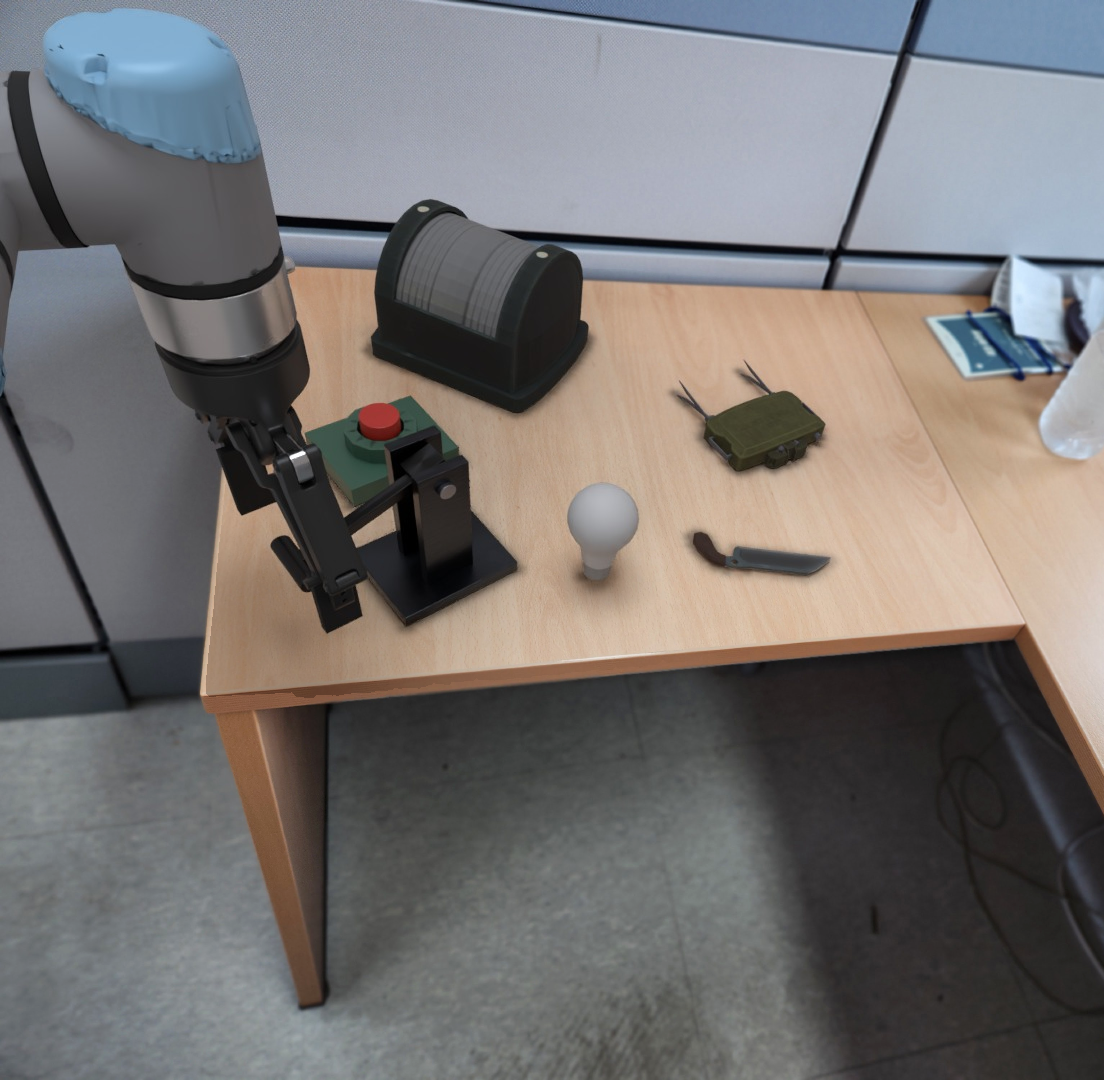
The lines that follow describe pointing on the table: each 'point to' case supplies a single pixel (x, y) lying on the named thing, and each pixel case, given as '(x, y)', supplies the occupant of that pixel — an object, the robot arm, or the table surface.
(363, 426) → the button
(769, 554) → the knife
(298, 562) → the switch lever
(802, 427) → the landmine
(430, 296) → the light fixture
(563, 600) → the table surface
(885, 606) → the table surface
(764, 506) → the table surface
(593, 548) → the lightbulb
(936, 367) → the table surface
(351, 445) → the button box
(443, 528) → the switch bracket
